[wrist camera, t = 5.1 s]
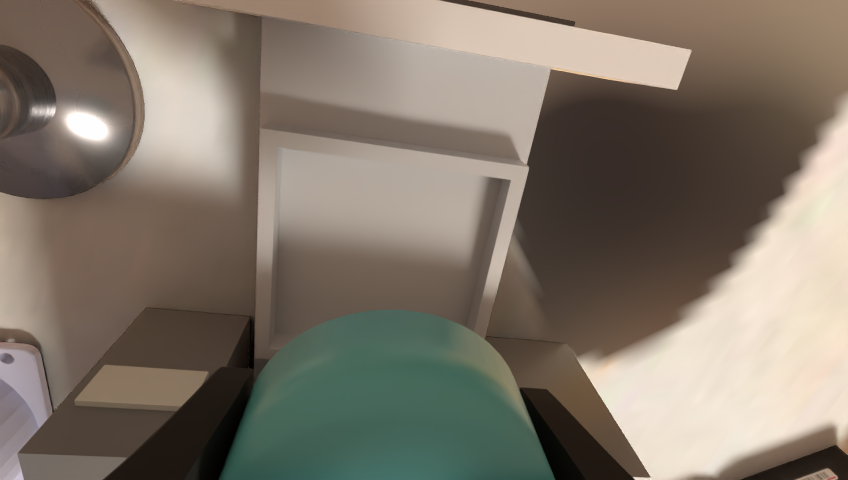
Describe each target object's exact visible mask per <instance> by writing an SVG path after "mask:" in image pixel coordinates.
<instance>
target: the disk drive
mask: <svg viewBox="0 0 848 480" xmlns="http://www.w3.org/2000/svg"><path fill="white" fill-rule="evenodd" d="M741 480H848V455H847V454H846V453H844V452H843V451H842V450H841V449H840V448H839V447H837V446H832V447H830V448H827V449H824V450H821V451H819V452H816V453H813V454H811V455H808V456H805V457H802V458H799V459H796V460H794V461H791V462H788V463H786V464H783V465H780V466H777V467H775V468H771V469H769V470H766V471H763V472H761V473H758V474H755V475H753V476H750V477H747V478H744V479H741Z"/></svg>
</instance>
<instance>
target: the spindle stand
mask: <svg viewBox="0 0 848 480" xmlns="http://www.w3.org/2000/svg"><path fill="white" fill-rule="evenodd" d="M144 119H145V109H144V98H143V91H142V87H141V83H140V80H139V76H138V73H137V71H136V68H135V66H134V63H133V61H132V59H131V57H130V55H129V53H128V52H127V50H126V48H125V46H124V45H123V43H122V42H121V40H120V39H119V37H118V36H117V34H116V33H115V31H114V30H113V29H112V28H111V27H110V25H109V24H108V23H107V22H106V21H105V19H104V18H103V17H102V16H101V15H100V14H99V13H98V12H97V11H96V10H95V9H94V8H93V7H91V6H90V5H89V4H88V3H87V2H86V1H84V0H0V192H3V193H6V194H10V195H14V196H19V197H25V198H36V199H52V198H62V197H67V196H72V195H75V194H78V193H81V192H84V191H86V190H88V189H90V188H92V187H94V186H96V185H98V184H100V183H102V182H104V181H106V180H108V179H110V178H111V177H113V176H114V175H115V174H117V173H118V172H119V171H120V170H121V169H122V168H123V167H124V166H125V165H126V164H127V163H128V162H129V160H130V159H131V157H132V156H133V155H134V153H135V151H136V149H137V147H138V145H139V142H140V139H141V135H142V132H143V126H144Z"/></svg>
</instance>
